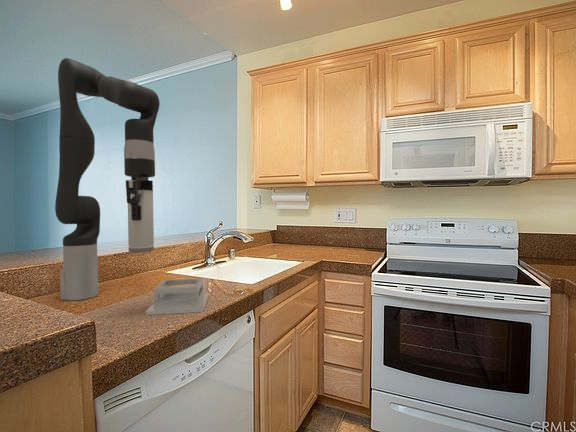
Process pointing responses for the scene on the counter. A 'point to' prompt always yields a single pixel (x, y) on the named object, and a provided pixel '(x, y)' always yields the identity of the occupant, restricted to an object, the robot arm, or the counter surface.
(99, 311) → the counter surface
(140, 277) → the counter surface
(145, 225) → the travel mug
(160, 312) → the collar stand
